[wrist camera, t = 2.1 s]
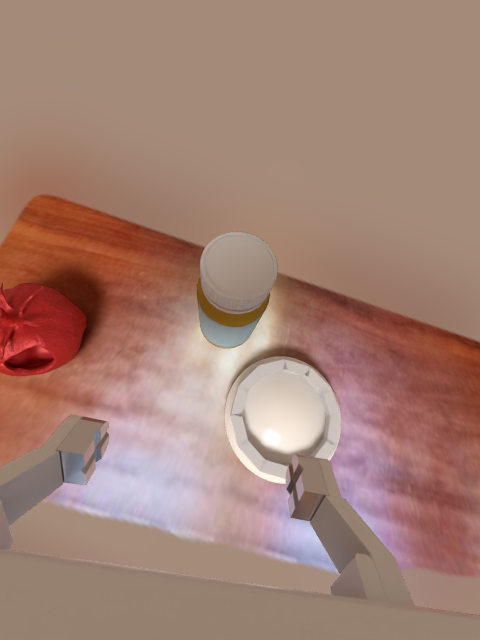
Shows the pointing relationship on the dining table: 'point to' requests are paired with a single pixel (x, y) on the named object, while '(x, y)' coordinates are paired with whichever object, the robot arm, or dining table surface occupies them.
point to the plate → (281, 416)
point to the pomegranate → (37, 329)
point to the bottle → (234, 287)
